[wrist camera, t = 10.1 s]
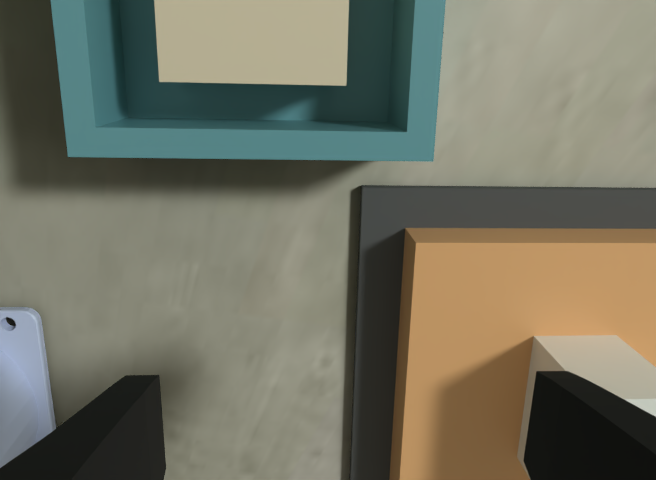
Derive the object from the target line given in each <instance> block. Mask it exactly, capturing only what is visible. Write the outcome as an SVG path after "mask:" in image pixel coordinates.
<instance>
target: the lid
mask: <svg viewBox="0 0 656 480" xmlns="http://www.w3.org/2000/svg"><path fill="white" fill-rule="evenodd" d="M536 371H569V372H571V373H573V374H576V375H578V376H580V377H582V378H584V379H586V380H588V381H590V382H592V383H594V384H596V385H598V386H600V387H602V388H604V389H606V390H608V391H609V392H611V393H613V394H615V395H617V396H619V397H620V398H622V399H624V400H626V401H628V402H630V403H631V404H633V405H635V406H637V407H639V408H641V409H642V410H644V411H646V412H648V413H650V414H652V415H654V416H655V417H656V229H564V228H405V240H404V256H403V272H402V288H401V304H400V320H399V335H398V351H397V367H396V383H395V399H394V415H393V431H392V446H391V462H390V478H389V480H531V479H530V477H529V474H528V471H527V469H526V466H525V464H524V461H523V460H524V453H525V446H526V439H527V432H528V425H529V418H530V411H531V404H532V398H533V391H534V384H535V377H536Z"/></svg>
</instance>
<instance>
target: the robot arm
mask: <svg viewBox="0 0 656 480" xmlns="http://www.w3.org/2000/svg"><path fill="white" fill-rule="evenodd" d="M6 317H9V318H12V319H13V320H14V321H15V323H16V326H12V325H10V324H8V323H7V321H6ZM523 461H524V464H525V466H526V469H527V471H528V474H529V477H530V479H531V480H656V417H655V416H654V415H652V414H650V413H648V412H646V411H644V410H642V409H641V408H639V407H637V406H635V405H633V404H631V403H630V402H628V401H626V400H624V399H622V398H620V397H619V396H617V395H615V394H613V393H611V392H609V391H608V390H606V389H604V388H602V387H600V386H598V385H596V384H594V383H592V382H590V381H588V380H586V379H584V378H582V377H580V376H578V375H576V374H573V373H571V372H569V371H536V377H535V384H534V391H533V398H532V404H531V411H530V418H529V425H528V432H527V439H526V446H525V453H524V460H523ZM165 470H166V462H165V448H164V434H163V420H162V407H161V393H160V379H159V375H133V376H125V377H123V378H122V379H120V380H119V381H117V382H116V383H115V384H113V385H112V386H111V387H109V388H108V389H107V390H106V391H104V392H103V393H102V394H100V395H99V396H98V397H97V398H95V399H94V400H93V401H92V402H90V403H89V404H88V405H86V406H85V407H84V408H83V409H81V410H80V411H79V412H77V413H76V414H75V415H73V416H72V417H71V418H70V419H68V420H67V421H66V422H64V423H63V424H62V425H60V426H59V427H58V428H56V424H55V416H54V409H53V402H52V394H51V387H50V379H49V372H48V365H47V357H46V350H45V342H44V335H43V328H42V320H41V317H40V315H39V314H38V312H37V311H35V310H34V309H32V308H28V307H0V480H164V475H165Z"/></svg>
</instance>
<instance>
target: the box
mask: <svg viewBox="0 0 656 480" xmlns="http://www.w3.org/2000/svg"><path fill="white" fill-rule="evenodd" d="M51 9H52V18H53V27H54V36H55V45H56V54H57V63H58V72H59V81H60V90H61V99H62V108H63V117H64V126H65V135H66V144H67V153H68V157H108V158H191V159H275V160H358V161H433V159H434V146H435V132H436V119H437V106H438V93H439V80H440V66H441V53H442V40H443V27H444V14H445V0H51Z"/></svg>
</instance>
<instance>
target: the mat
mask: <svg viewBox="0 0 656 480" xmlns="http://www.w3.org/2000/svg"><path fill="white" fill-rule="evenodd" d="M405 228H564V229H656V188H598V187H487V186H377V185H361V204H360V230H359V255H358V280H357V306H356V331H355V356H354V382H353V407H352V432H351V458H350V480H389V478H390V462H391V446H392V431H393V415H394V399H395V383H396V367H397V351H398V335H399V320H400V304H401V288H402V272H403V256H404V240H405Z"/></svg>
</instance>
